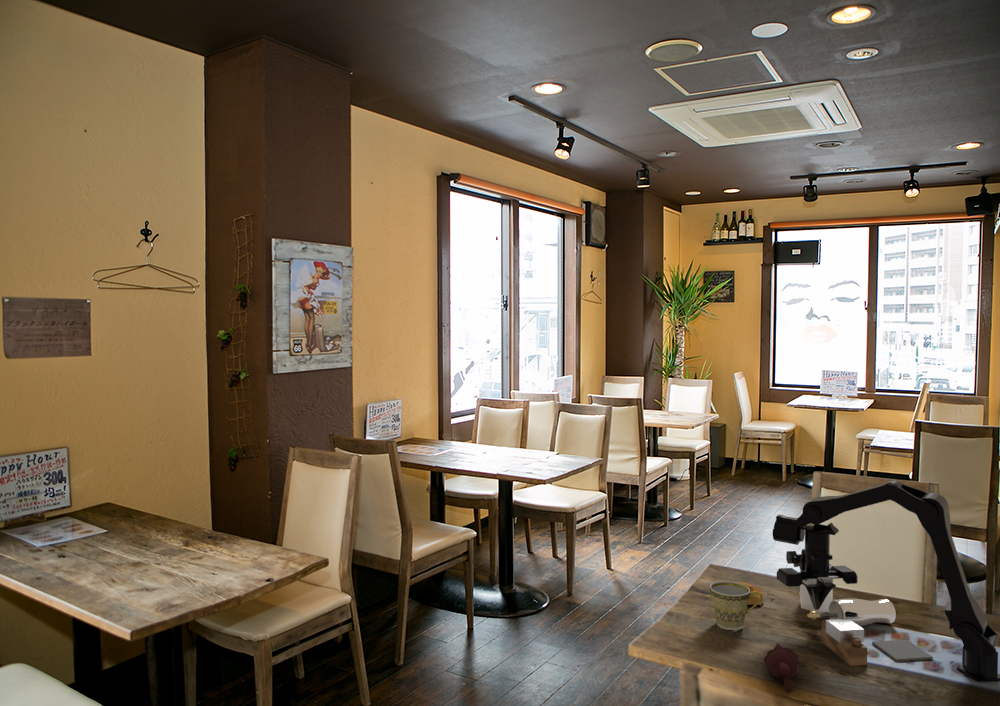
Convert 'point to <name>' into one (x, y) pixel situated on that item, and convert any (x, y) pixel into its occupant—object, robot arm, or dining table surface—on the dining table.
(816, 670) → the dining table surface
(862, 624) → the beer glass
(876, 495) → the robot arm
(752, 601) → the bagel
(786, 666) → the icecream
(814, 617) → the lever
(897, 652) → the mat
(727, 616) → the ceramic cup
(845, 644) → the plane body
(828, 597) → the jar
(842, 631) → the square block
